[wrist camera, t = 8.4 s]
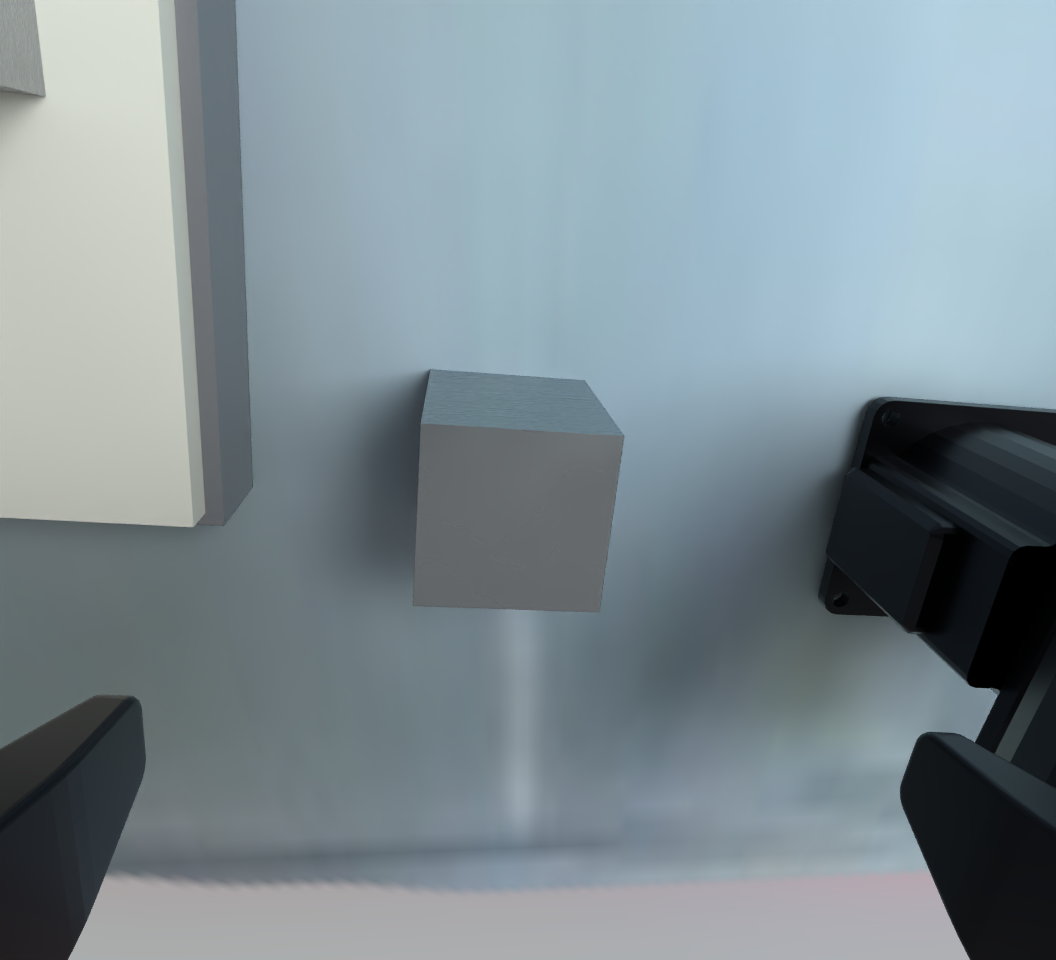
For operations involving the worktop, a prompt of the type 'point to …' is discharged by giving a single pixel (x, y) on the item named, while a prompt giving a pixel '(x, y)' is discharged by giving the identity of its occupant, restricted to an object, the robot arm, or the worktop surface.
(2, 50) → the block
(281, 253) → the worktop surface
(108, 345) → the scale
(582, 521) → the block
